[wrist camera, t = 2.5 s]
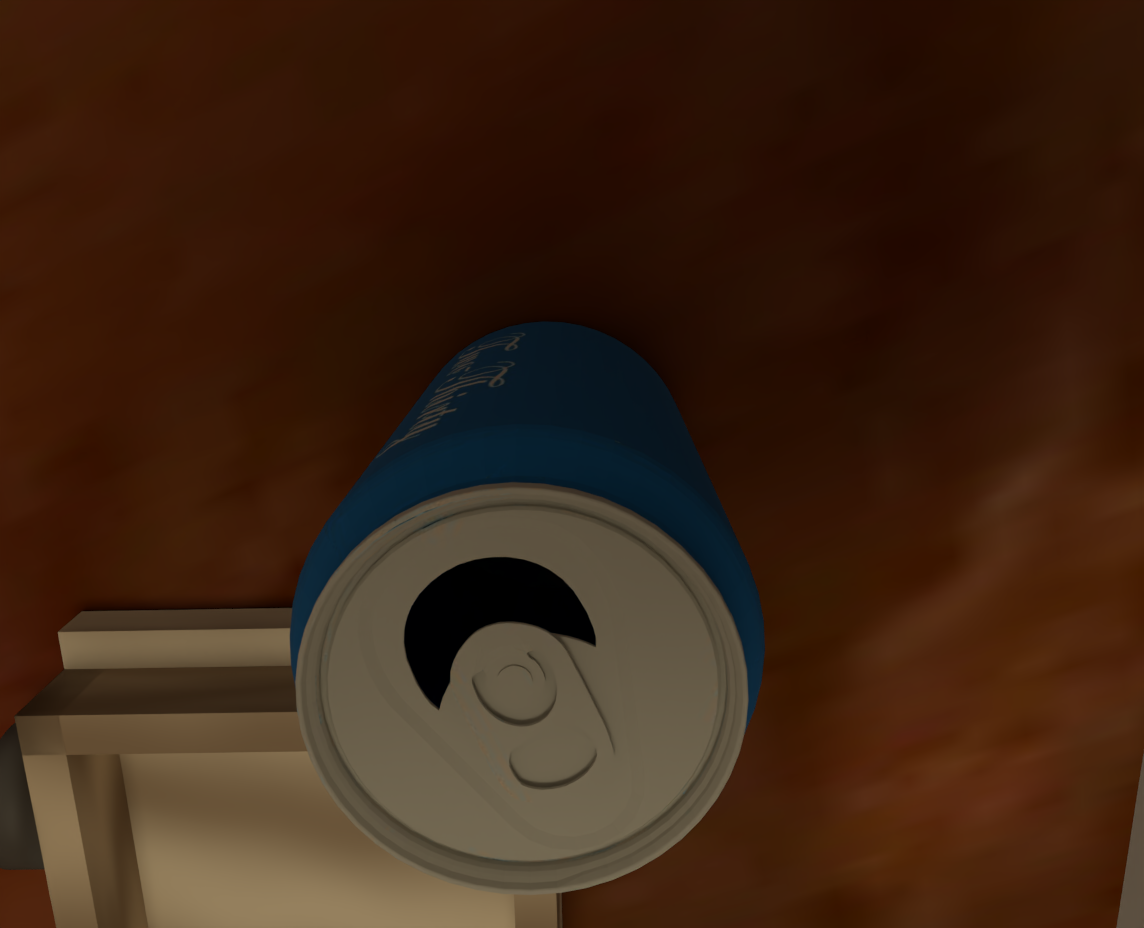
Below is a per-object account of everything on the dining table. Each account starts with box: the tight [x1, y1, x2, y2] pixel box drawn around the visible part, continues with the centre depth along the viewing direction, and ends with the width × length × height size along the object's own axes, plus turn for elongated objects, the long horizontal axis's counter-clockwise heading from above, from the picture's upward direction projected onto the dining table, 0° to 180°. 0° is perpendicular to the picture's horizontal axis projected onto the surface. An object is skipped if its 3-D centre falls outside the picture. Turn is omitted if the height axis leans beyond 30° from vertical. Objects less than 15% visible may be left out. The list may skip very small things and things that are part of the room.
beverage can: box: [290, 322, 765, 895], centre depth 18 cm, size 6×6×12 cm
